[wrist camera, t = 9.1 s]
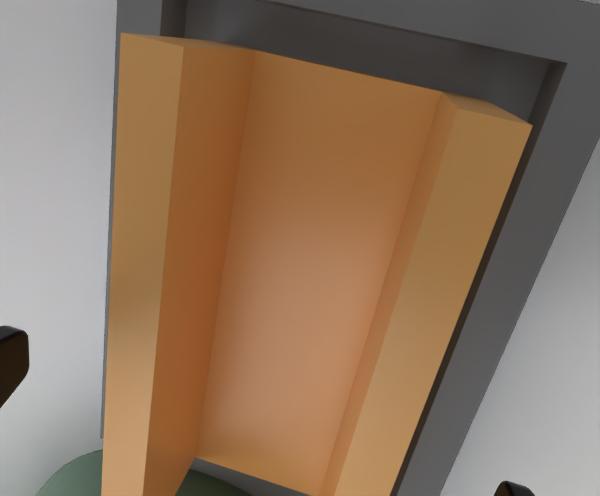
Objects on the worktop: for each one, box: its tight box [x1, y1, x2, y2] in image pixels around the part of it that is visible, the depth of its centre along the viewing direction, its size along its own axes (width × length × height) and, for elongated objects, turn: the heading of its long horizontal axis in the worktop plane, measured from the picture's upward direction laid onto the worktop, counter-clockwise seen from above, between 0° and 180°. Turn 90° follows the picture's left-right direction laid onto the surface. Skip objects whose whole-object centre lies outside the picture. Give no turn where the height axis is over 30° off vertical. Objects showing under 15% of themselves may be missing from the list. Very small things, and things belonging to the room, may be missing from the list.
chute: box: [101, 33, 533, 496], centre depth 11 cm, size 12×6×4 cm, turn 169°
